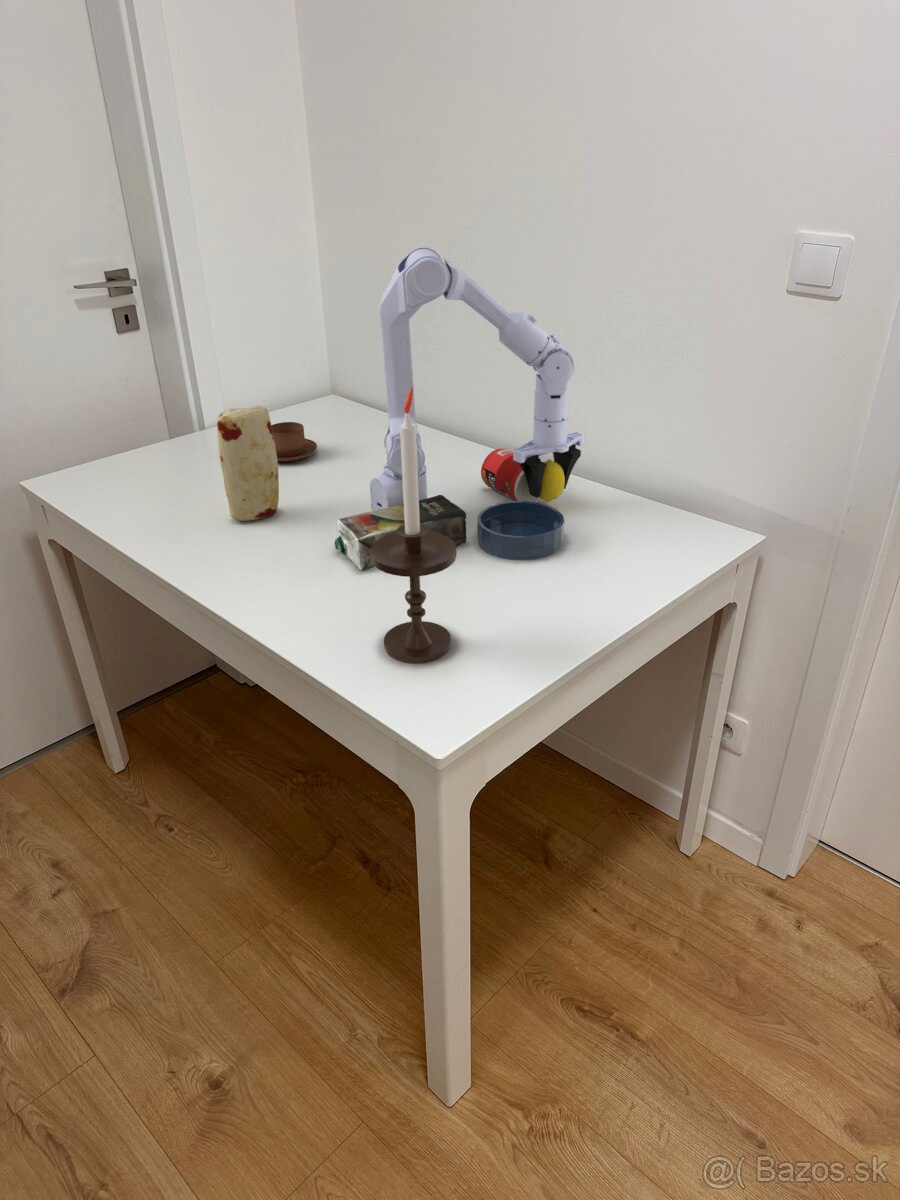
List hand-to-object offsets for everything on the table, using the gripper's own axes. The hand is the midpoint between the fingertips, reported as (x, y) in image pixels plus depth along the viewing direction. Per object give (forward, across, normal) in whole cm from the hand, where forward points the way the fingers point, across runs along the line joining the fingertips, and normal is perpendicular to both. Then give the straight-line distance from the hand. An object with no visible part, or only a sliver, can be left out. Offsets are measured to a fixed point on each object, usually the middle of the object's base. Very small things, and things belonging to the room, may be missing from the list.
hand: (547, 491), depth 150 cm
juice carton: (+3, -29, +3) cm, 29 cm away
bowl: (+3, -12, -7) cm, 14 cm away
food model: (+3, -43, +29) cm, 52 cm away
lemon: (+2, 0, 0) cm, 2 cm away
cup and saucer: (+3, -25, +53) cm, 59 cm away
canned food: (-1, -1, +14) cm, 14 cm away
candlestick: (+3, -43, -23) cm, 49 cm away
